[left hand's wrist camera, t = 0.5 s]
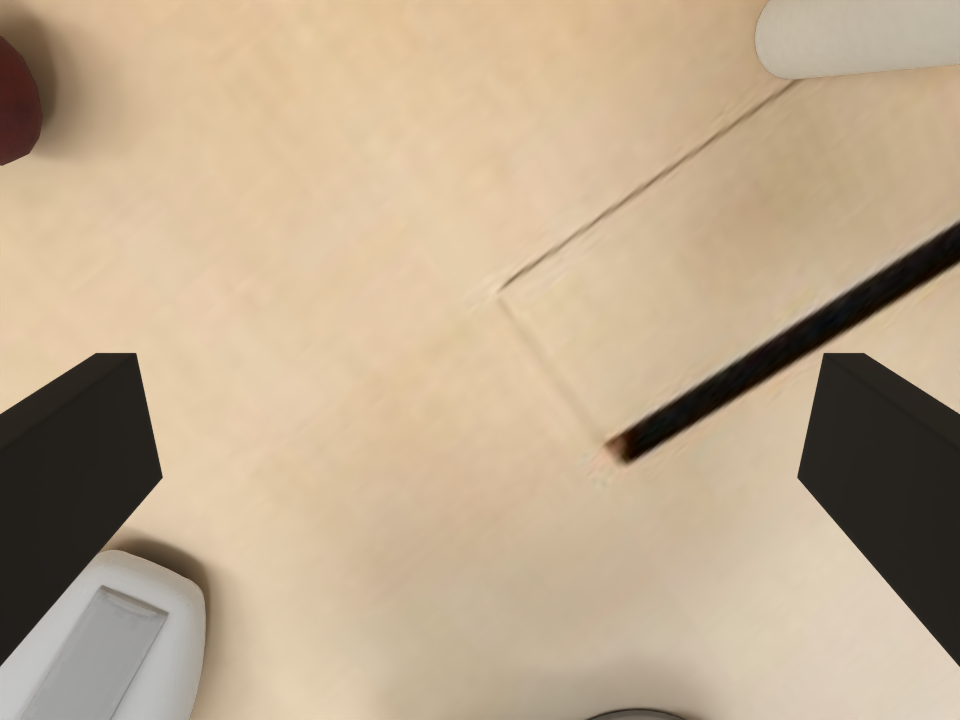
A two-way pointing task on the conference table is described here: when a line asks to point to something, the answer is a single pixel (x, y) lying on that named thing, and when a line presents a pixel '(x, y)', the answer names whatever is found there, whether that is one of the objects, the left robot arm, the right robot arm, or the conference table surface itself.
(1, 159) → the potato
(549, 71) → the conference table surface
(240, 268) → the conference table surface
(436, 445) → the conference table surface
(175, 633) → the projector
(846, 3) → the jar
